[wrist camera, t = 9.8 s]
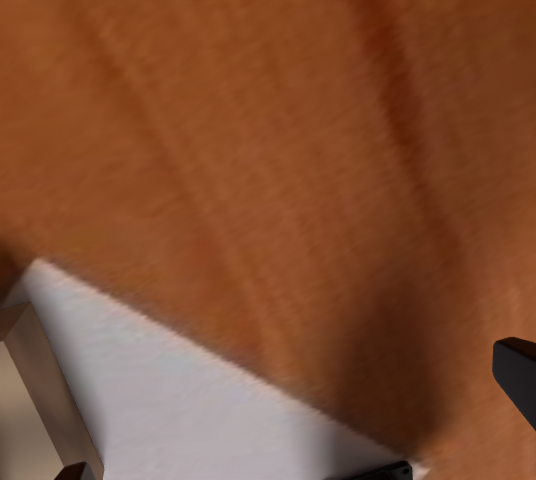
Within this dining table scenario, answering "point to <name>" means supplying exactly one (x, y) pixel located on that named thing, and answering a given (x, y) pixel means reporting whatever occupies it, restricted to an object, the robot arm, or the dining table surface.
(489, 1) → the dining table surface
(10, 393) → the brown boxy piece
